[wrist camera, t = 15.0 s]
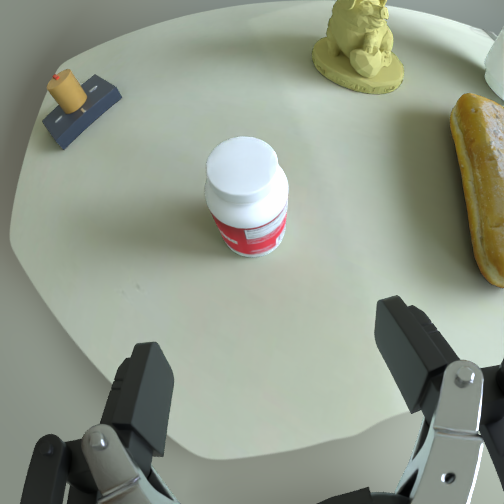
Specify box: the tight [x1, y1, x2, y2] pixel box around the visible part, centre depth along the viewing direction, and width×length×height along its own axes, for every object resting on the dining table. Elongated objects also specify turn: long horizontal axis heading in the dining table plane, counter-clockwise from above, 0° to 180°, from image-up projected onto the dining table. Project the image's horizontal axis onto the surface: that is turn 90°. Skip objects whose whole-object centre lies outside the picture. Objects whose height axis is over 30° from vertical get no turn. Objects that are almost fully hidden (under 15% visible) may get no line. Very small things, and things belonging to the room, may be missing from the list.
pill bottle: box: [205, 136, 288, 257], centre depth 23 cm, size 6×6×11 cm
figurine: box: [312, 0, 404, 94], centre depth 29 cm, size 15×14×15 cm
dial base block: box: [42, 75, 122, 150], centre depth 36 cm, size 12×9×3 cm
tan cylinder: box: [47, 69, 87, 114], centre depth 32 cm, size 4×4×6 cm
